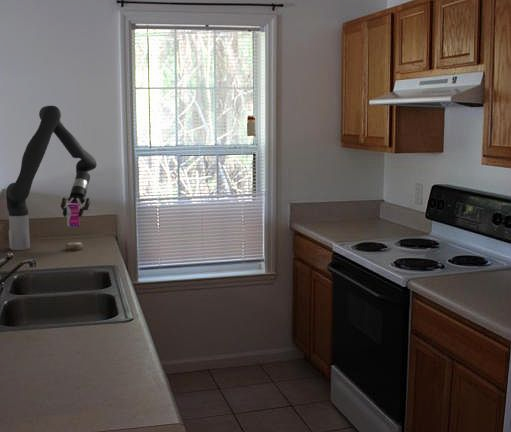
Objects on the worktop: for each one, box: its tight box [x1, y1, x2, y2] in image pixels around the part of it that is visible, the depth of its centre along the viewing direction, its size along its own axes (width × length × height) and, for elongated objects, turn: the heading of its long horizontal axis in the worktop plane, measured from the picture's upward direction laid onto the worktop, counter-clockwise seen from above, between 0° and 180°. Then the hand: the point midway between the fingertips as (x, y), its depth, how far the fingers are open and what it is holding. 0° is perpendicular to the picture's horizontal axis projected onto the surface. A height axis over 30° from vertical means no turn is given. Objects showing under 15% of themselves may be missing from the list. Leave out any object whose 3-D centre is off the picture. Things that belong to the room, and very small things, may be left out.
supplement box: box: [66, 202, 80, 228], centre depth 337 cm, size 6×6×12 cm
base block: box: [65, 241, 83, 252], centre depth 339 cm, size 8×8×3 cm
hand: (72, 215), depth 335 cm, fingers closed on supplement box, 7 cm apart
